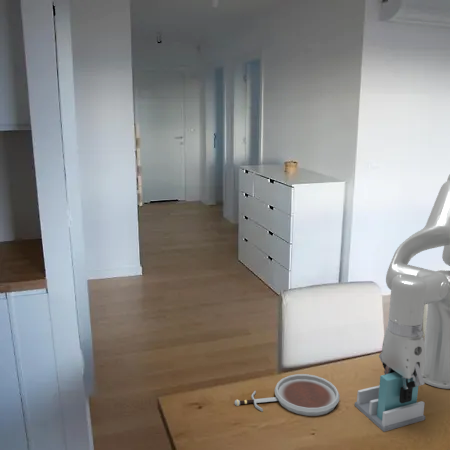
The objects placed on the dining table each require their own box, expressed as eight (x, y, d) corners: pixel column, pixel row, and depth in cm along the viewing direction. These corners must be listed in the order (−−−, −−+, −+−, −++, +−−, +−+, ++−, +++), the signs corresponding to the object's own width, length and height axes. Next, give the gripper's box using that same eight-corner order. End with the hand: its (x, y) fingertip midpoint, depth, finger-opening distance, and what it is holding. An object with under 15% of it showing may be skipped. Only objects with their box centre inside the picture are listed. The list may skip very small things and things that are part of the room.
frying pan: (228, 380, 130) (325, 369, 135) (228, 389, 131) (324, 379, 136) (241, 418, 114) (351, 404, 119) (241, 428, 115) (350, 415, 119)
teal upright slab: (408, 407, 120) (412, 367, 118) (415, 412, 118) (419, 372, 116) (376, 416, 117) (380, 375, 114) (383, 421, 115) (387, 380, 112)
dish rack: (393, 395, 127) (394, 380, 126) (424, 419, 117) (426, 403, 116) (354, 405, 123) (355, 390, 122) (383, 431, 112) (385, 415, 111)
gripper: (444, 339, 106) (436, 412, 110) (392, 311, 121) (386, 375, 125) (418, 345, 103) (410, 419, 107) (368, 315, 118) (363, 381, 123)
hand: (397, 395), depth 116 cm, fingers open, 4 cm apart
